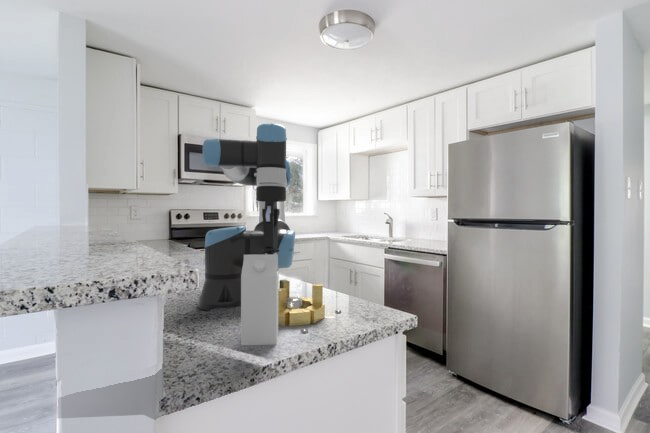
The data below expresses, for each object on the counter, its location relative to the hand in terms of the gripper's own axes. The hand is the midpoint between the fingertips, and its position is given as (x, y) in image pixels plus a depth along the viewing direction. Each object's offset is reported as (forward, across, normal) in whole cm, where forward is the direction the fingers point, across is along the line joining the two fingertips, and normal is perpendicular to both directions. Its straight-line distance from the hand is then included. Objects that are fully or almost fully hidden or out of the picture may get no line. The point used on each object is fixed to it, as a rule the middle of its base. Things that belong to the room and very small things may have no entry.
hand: (270, 278), depth 88 cm
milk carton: (+11, +15, 0) cm, 19 cm away
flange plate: (+11, 0, +6) cm, 12 cm away
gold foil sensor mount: (+10, 0, +6) cm, 11 cm away
